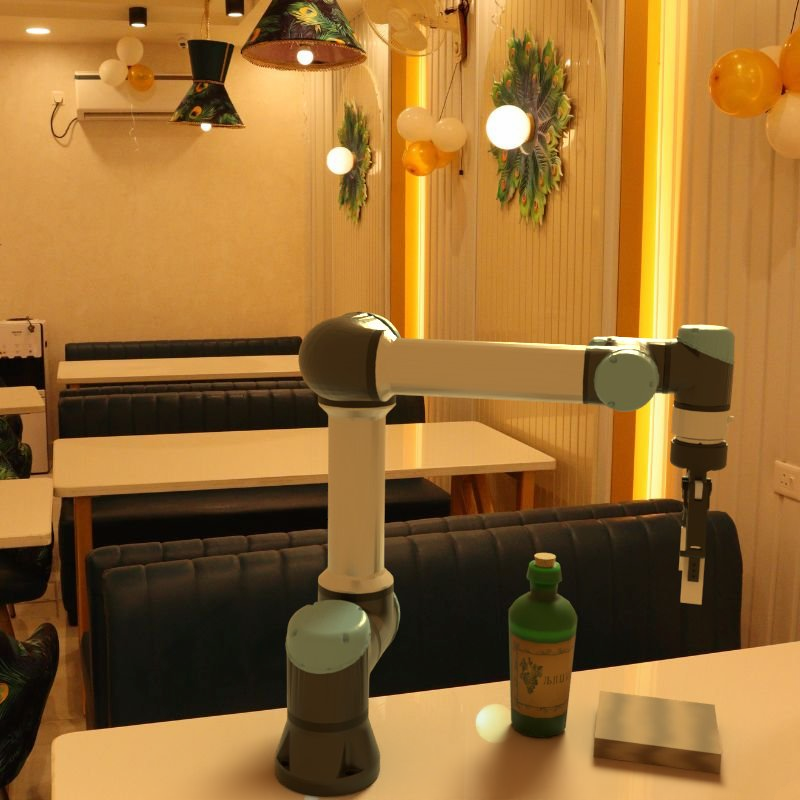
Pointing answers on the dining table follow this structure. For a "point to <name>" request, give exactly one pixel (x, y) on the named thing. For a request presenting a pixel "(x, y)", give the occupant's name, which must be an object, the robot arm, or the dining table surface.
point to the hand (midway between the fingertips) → (689, 586)
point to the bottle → (541, 652)
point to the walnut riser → (657, 732)
